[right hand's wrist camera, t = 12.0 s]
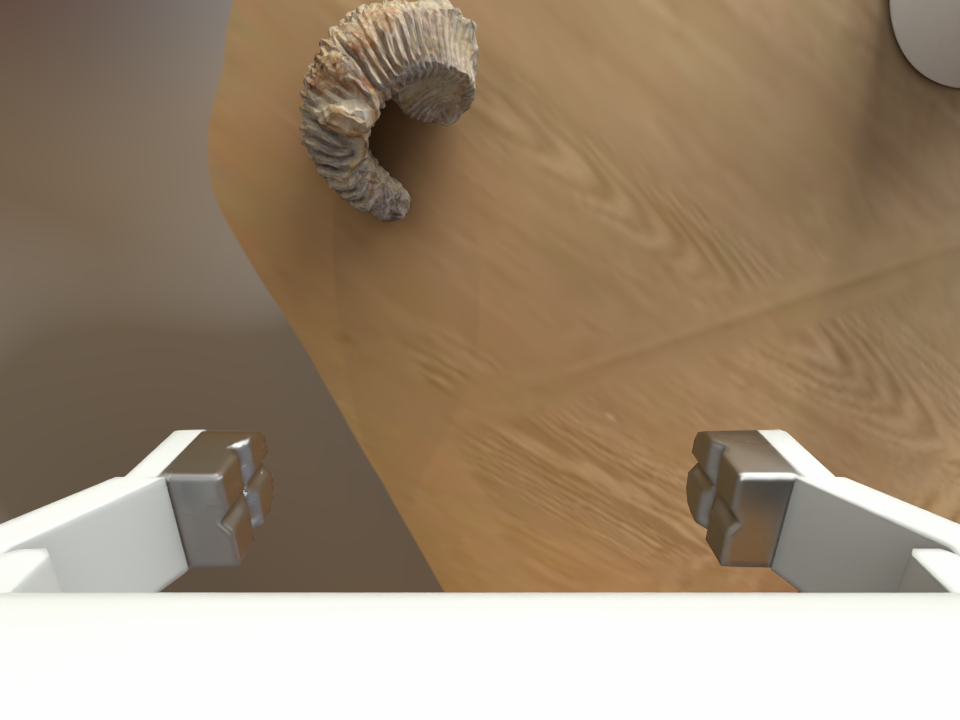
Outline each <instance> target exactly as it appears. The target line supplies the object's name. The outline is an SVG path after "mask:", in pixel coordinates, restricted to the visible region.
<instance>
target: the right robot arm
mask: <svg viewBox="0 0 960 720" xmlns="http://www.w3.org/2000/svg"><path fill="white" fill-rule="evenodd" d="M889 3H890V15H891V21H892V26H893V30H894V33H895V37H896V39H897V42H898V44H899V46H900V48H901V50H902V52H903V53H904V55H905V57H906V58H907V59H908V61H909V62H910V63H911V64H912V65H913V66H914V68H916V69H917V70H918V71H919V72H920V73H921V74H923V75H924V76H925V77H927V78H929V79H931V80H933V81H935V82H937V83H939V84H942V85H945V86H949V87H955V88H960V0H889ZM267 453H268V449H267V445H266V440H265V436H264V435H263V434H262V433H261V432H260V431H221V430H207V431H206V430H180V431H174V432H173V433H172V434H171V435H170V436H169V437H168V438H167V439H166V440H165V441H163V442H162V443H161V444H160V445H159V446H158V447H157V448H156V449H155V450H154V451H152V452H151V453H150V454H149V455H148V456H147V457H146V458H145V459H144V460H143V461H142V462H140V463H139V464H138V465H137V466H136V467H135V468H134V469H133V470H132V471H131V472H130V473H129V474H127V475H126V476H125V477H115V478H112V479H110V480H107V481H105V482H103V483H100V484H98V485H95V486H93V487H91V488H88V489H85V490H83V491H81V492H78V493H76V494H73V495H71V496H69V497H66V498H63V499H61V500H59V501H56V502H54V503H51V504H49V505H46V506H44V507H42V508H39V509H37V510H34V511H32V512H29V513H27V514H24V515H22V516H20V517H17V518H15V519H12V520H10V521H7V522H5V523H2V524H0V720H960V524H957V523H955V522H952V521H950V520H948V519H945V518H943V517H940V516H938V515H935V514H933V513H931V512H928V511H926V510H923V509H921V508H918V507H916V506H913V505H911V504H909V503H906V502H904V501H901V500H899V499H896V498H894V497H892V496H889V495H887V494H884V493H882V492H879V491H877V490H874V489H872V488H870V487H867V486H865V485H862V484H860V483H857V482H855V481H853V480H850V479H848V478H845V477H835V476H834V475H833V474H832V473H830V472H829V471H828V470H827V469H826V468H825V467H824V466H823V465H822V464H821V463H820V462H819V461H817V460H816V459H815V458H814V457H813V456H812V455H811V454H810V453H809V452H808V451H807V450H805V449H804V448H803V447H802V446H801V445H800V444H799V443H798V442H797V441H796V440H795V439H794V438H792V437H791V436H790V435H789V434H788V433H787V432H785V431H782V430H744V431H704V432H698V433H697V435H696V437H695V440H694V444H693V449H692V453H693V455H694V456H695V458H696V459H697V461H698V463H697V464H696V465H695V466H694V467H693V468H692V469H691V470H690V471H689V472H688V479H687V486H686V491H687V502H688V505H689V509H690V512H691V514H692V516H693V518H694V520H695V521H696V523H698V524H700V525H701V526H703V527H704V528H706V529H708V530H707V535H706V541H707V542H708V544H709V546H710V547H711V549H712V551H713V552H714V554H715V556H716V558H717V559H718V561H719V563H720V564H721V566H736V567H772V568H771V570H772V571H774V572H775V573H776V574H778V575H779V576H780V577H782V578H783V579H784V580H786V581H787V582H788V583H790V584H791V585H792V586H794V587H795V588H796V589H798V590H799V591H800V592H802V593H159V592H160V591H161V590H162V589H164V588H165V587H166V586H168V585H169V584H171V583H172V582H173V581H175V580H176V579H177V578H178V577H180V576H181V575H182V574H184V573H185V572H186V571H188V567H222V566H239V565H240V563H241V561H242V559H243V558H244V556H245V554H246V553H247V551H248V549H249V547H250V546H251V544H252V542H253V540H254V535H253V529H254V528H256V527H257V526H259V525H260V524H262V523H264V521H265V519H266V518H267V516H268V514H269V512H270V509H271V504H272V500H273V478H272V472H271V471H270V470H269V469H268V468H267V467H266V466H265V465H264V464H263V463H262V461H263V459H264V458H265V456H266V454H267Z"/></svg>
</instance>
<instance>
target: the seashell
mask: <svg viewBox="0 0 960 720" xmlns="http://www.w3.org/2000/svg"><path fill="white" fill-rule="evenodd" d="M476 28H477V24H476V23H475V22H474V21H472V20H470V19H466V18H464V17H462V13H461V11H460V9H459V8H455V7H454V6H452V5H451V3H450V2H449V0H420V1H416V2H407V1H405V0H401V1H395V0H393V1H391V2H388V1H387V0H383V2H382V3H381V4H380V3H371V4H370V5H369V6H367V5H365V4H362V5H361V6H359V7H357V9H356V10H354V11H351V12H348V13H347V14H346V19H341V21H340V22H339V25H338V26H332V27H330V28H329V38H327V39H321V40H320V42H319V44H320V47H321V50H320V53H316V55H315V57H314V61H315V62H314V63H312V64H309V65H308V68H309V70H310V71H309V72H308V73H307V74H306V75H305V76H304V81H303V82H304V86H305V89H304V90H303V91H300V94H301V96H302V98H303V100H304V103H305V104H304V105H303V106H301V107H300V108H299V109H300V112H301V115H302V118H303V119H304V122H303V123H302V124H300V125H299V130H300V131H301V133H302V134H303V139H302V142H301V144H302V145H304V146H305V147H306V148H307V149H308V151H309V159H310V160H312V161H314V163H315V164H316V167H317V172H318V174H319V175H321V176H322V177H323V178H324V179H325V180H326V181H327V182H328V183H329V186H328V187H329V188H330V189H334V190H335V191H336V192H337V193H338V194H339V195H340V198H342V199H344V200H347V201H348V202H349V204H350V205H351V206H352V207H354V208H356V209H358V212H365V211H367V212H369V213H370V214H371V215H372V216H373V217H375V218H378V219H379V220H380V221H382V222H391V221H396V220H400V219H403V218H405V214H406V213H407V212H408V211H409V210H410V204H409V203H410V200H411V197H410V195H409V194H408V192H407V191H406V190H405V188H403V187H402V184H401V183H400V182H399V181H397V180H396V179H395V178H393V177H392V176H390V174H389V172H387V171H385V169H384V168H383V167H382V166H381V165H380V164H379V162H378V159H377V158H375V157H374V156H373V154H372V153H371V150H370V149H369V147H368V145H369V141H368V138H369V137H370V134H371V127H374V125H375V122H376V121H377V120H378V119H379V116H380V114H381V112H380V109H384V107H385V106H386V105H385V101H388V100H390V99H391V100H393V101H394V102H395V103H396V104H397V105H398V106H399V107H400V109H401V110H402V111H403V113H404V114H405V115H406V116H408V117H410V118H412V119H416V120H419V121H422V122H427V123H430V122H434V123H439V124H440V125H443V126H449V125H450V124H452V123H454V122H456V121H458V119H459V118H460V116H461V114H462V113H464V112H465V111H466V110H468V109H469V108H470V105H471V103H472V101H473V100H474V97H475V94H476V87H475V81H476V77H477V62H478V56H479V51H478V45H477V41H476Z"/></svg>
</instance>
